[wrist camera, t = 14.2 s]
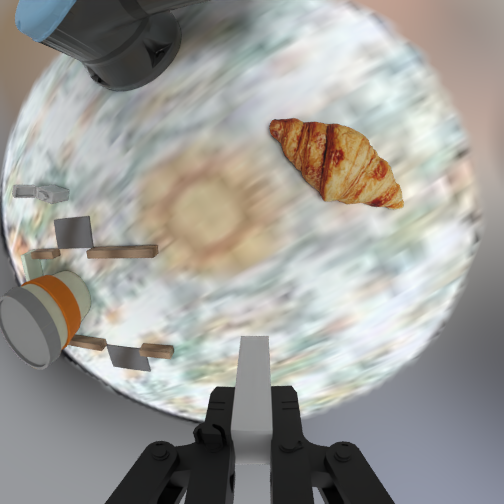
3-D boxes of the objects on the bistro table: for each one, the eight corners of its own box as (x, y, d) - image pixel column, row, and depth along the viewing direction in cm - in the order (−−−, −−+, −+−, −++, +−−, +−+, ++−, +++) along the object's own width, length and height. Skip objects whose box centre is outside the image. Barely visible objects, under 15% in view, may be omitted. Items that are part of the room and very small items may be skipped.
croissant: (394, 185, 39) (427, 166, 31) (382, 241, 37) (420, 229, 29) (275, 115, 36) (293, 80, 29) (247, 169, 34) (262, 136, 26)
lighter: (69, 190, 37) (37, 196, 29) (67, 200, 37) (36, 207, 29) (42, 180, 36) (11, 185, 29) (40, 190, 37) (9, 196, 29)
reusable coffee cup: (41, 295, 42) (-7, 330, 28) (58, 246, 39) (-1, 275, 25) (86, 337, 44) (45, 383, 30) (109, 292, 41) (58, 339, 27)
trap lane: (154, 210, 37) (148, 213, 35) (178, 373, 45) (175, 381, 43) (29, 222, 38) (22, 225, 36) (64, 355, 46) (59, 361, 44)
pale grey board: (37, 249, 40) (24, 255, 36) (61, 336, 45) (51, 346, 41) (34, 249, 40) (20, 255, 36) (57, 336, 45) (47, 345, 41)
